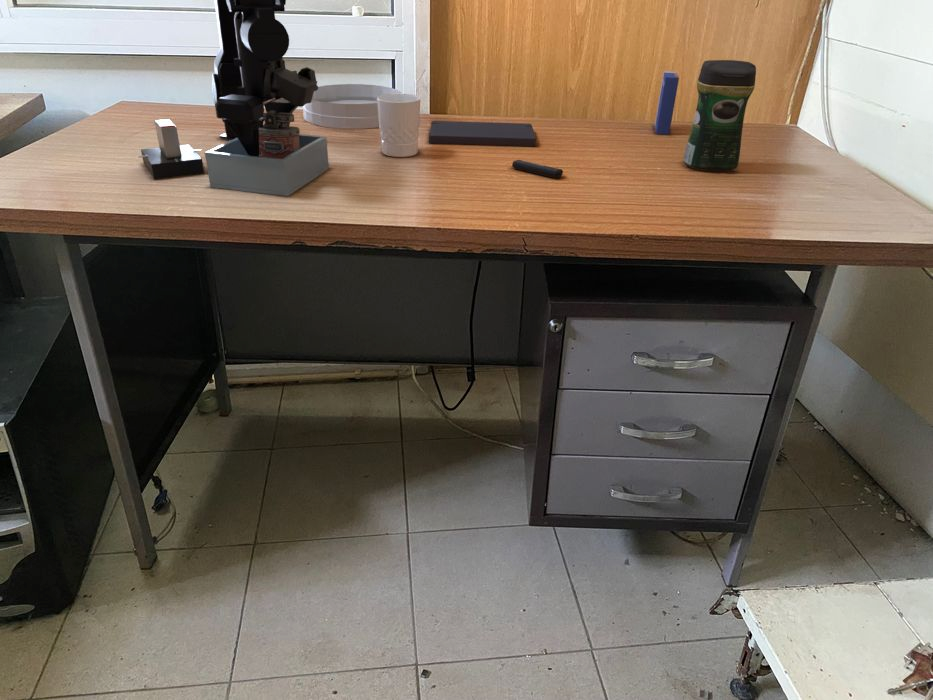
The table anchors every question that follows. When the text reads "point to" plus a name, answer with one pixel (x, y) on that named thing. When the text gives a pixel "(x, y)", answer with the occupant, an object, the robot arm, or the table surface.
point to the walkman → (666, 102)
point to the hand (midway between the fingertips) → (269, 153)
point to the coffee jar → (719, 115)
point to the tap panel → (172, 163)
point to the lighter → (278, 136)
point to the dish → (346, 106)
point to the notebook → (482, 133)
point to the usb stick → (537, 168)
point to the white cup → (399, 123)
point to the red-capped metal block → (168, 138)
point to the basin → (267, 167)
